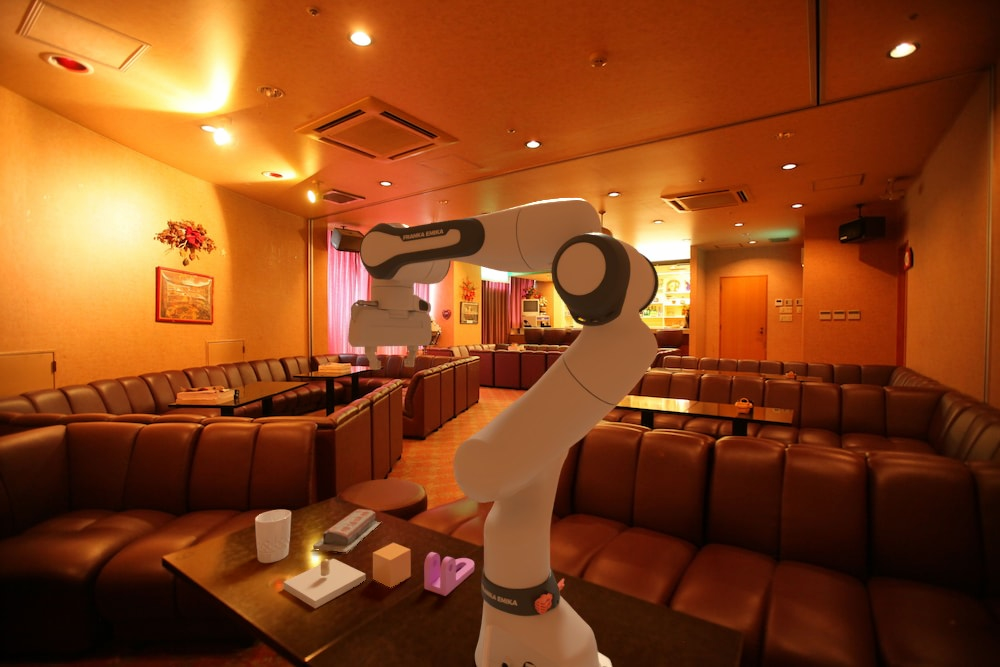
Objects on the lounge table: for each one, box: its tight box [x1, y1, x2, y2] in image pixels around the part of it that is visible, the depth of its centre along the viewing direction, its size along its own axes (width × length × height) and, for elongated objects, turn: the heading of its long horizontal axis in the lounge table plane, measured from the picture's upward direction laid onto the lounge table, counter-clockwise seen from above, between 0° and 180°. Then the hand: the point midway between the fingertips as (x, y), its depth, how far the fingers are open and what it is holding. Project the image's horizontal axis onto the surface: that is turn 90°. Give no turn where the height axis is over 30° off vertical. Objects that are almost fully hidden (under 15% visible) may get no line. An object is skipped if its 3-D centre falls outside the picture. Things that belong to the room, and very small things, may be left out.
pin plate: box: [282, 558, 367, 610], centre depth 94 cm, size 12×12×6 cm
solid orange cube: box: [372, 542, 412, 589], centre depth 96 cm, size 6×6×6 cm
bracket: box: [423, 551, 475, 597], centre depth 96 cm, size 13×6×7 cm, turn 151°
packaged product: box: [312, 508, 383, 554], centre depth 117 cm, size 18×5×10 cm
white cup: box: [254, 509, 292, 564], centre depth 106 cm, size 8×8×10 cm
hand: (393, 368), depth 91 cm, fingers open, 8 cm apart
